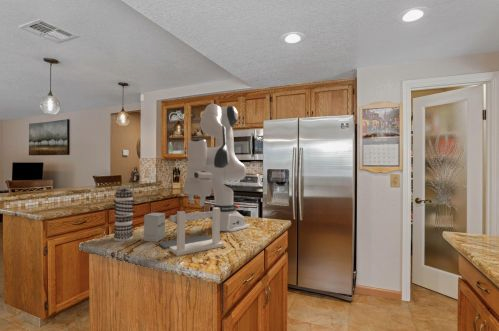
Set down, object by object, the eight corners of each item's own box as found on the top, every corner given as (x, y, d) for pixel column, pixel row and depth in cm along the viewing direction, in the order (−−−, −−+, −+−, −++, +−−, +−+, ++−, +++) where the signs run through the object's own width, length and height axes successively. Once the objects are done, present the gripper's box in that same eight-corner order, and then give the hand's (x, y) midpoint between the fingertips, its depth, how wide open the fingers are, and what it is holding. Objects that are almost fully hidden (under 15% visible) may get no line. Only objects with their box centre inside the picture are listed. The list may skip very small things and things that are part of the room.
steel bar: (218, 215, 127) (218, 210, 127) (220, 216, 125) (220, 210, 125) (169, 221, 112) (169, 215, 112) (171, 222, 111) (171, 216, 111)
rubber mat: (204, 236, 137) (204, 234, 137) (212, 240, 131) (212, 238, 131) (158, 244, 122) (158, 242, 122) (164, 248, 116) (164, 247, 116)
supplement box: (157, 242, 126) (157, 215, 126) (143, 241, 127) (143, 214, 127) (165, 238, 133) (165, 213, 133) (151, 236, 134) (152, 212, 134)
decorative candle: (120, 242, 124) (121, 189, 124) (109, 239, 129) (109, 188, 129) (137, 237, 132) (138, 188, 132) (126, 235, 137) (127, 187, 137)
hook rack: (213, 241, 128) (214, 205, 128) (223, 246, 121) (223, 208, 121) (169, 250, 114) (170, 209, 114) (177, 255, 108) (178, 213, 108)
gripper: (180, 173, 125) (180, 202, 125) (201, 174, 109) (200, 208, 108) (193, 173, 129) (192, 201, 129) (214, 174, 113) (213, 207, 112)
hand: (196, 204), depth 118 cm, fingers open, 8 cm apart
